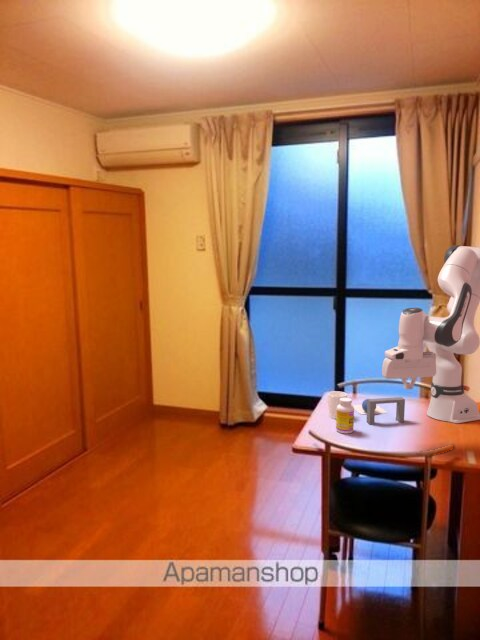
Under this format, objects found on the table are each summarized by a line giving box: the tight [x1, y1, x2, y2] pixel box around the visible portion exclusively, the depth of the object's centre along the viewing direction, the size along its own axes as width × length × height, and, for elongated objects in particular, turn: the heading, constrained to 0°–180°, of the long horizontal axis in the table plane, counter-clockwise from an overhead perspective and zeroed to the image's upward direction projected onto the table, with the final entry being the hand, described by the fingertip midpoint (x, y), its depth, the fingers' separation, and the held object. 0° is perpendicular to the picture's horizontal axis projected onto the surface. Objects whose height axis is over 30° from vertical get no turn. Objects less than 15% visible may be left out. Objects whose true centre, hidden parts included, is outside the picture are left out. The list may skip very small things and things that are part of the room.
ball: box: [361, 398, 377, 412], centre depth 213 cm, size 6×6×6 cm
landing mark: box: [351, 404, 388, 416], centre depth 218 cm, size 12×12×1 cm
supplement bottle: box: [335, 397, 355, 435], centre depth 192 cm, size 7×7×13 cm
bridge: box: [366, 396, 406, 425], centre depth 201 cm, size 3×15×10 cm, turn 100°
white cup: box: [327, 390, 348, 420], centre depth 208 cm, size 8×8×10 cm
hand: (408, 388), depth 183 cm, fingers closed
